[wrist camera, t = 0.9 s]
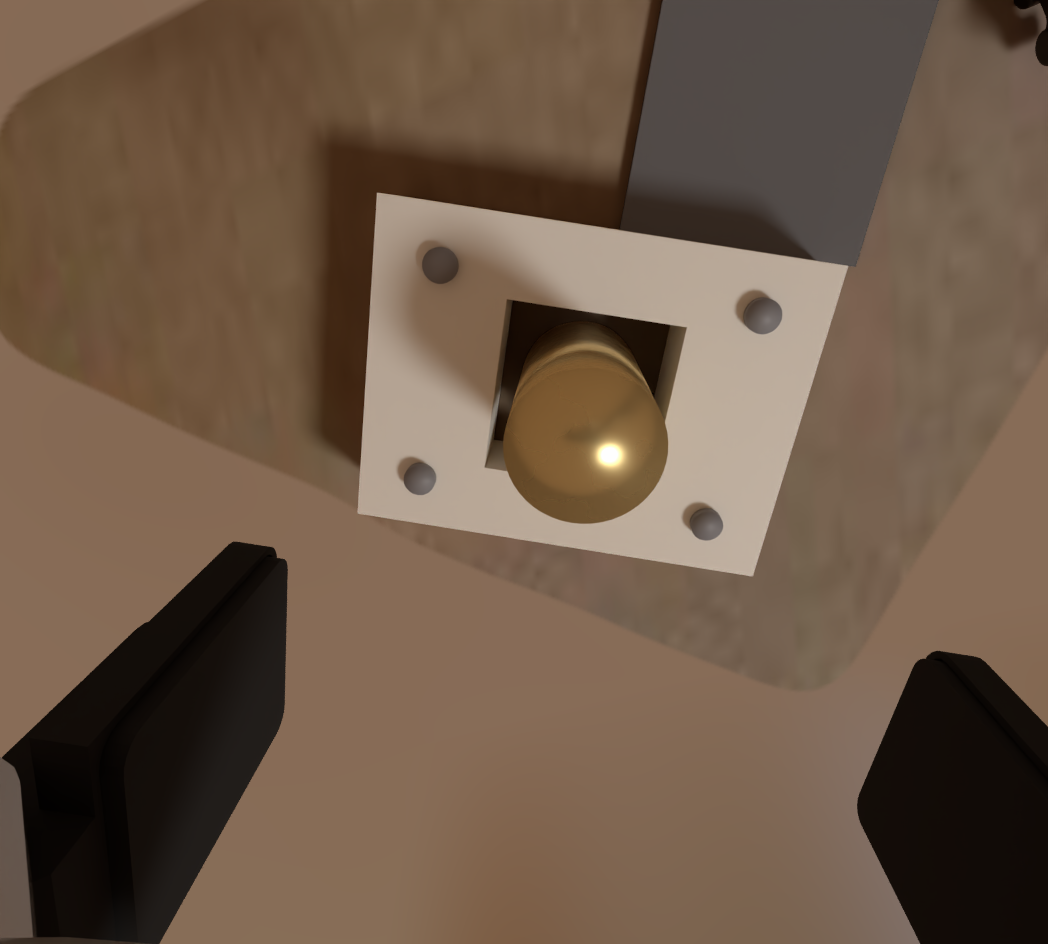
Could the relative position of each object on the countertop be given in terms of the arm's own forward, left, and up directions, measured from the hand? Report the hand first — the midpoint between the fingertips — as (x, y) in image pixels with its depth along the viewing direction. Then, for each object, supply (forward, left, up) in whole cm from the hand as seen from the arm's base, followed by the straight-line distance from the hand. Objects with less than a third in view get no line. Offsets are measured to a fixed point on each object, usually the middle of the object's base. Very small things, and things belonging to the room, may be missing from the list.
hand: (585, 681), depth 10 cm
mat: (-5, -11, -19) cm, 23 cm away
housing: (0, 0, -19) cm, 19 cm away
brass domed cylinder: (0, 0, -19) cm, 19 cm away
